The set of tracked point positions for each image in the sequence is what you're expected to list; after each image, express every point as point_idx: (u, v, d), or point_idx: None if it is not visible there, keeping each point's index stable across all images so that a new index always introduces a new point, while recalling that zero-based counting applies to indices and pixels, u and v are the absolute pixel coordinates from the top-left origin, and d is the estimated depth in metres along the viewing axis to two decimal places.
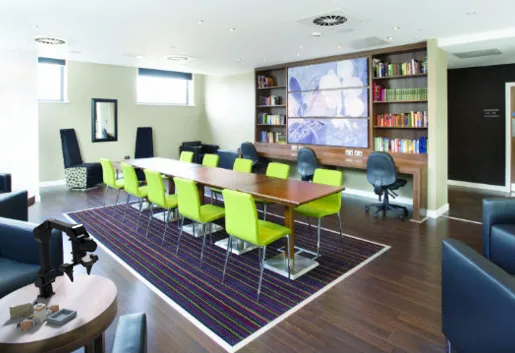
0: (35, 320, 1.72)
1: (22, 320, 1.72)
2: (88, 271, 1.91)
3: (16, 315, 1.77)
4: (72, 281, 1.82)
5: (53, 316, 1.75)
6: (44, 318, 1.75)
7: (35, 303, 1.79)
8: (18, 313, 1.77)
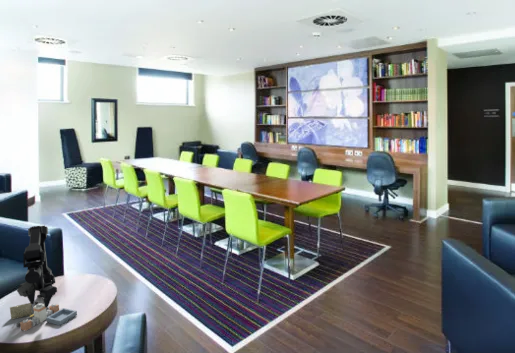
0: (35, 320, 1.72)
1: (22, 320, 1.72)
2: None
3: (17, 315, 1.77)
4: None
5: (53, 316, 1.75)
6: (44, 318, 1.75)
7: (36, 303, 1.79)
8: (18, 313, 1.77)
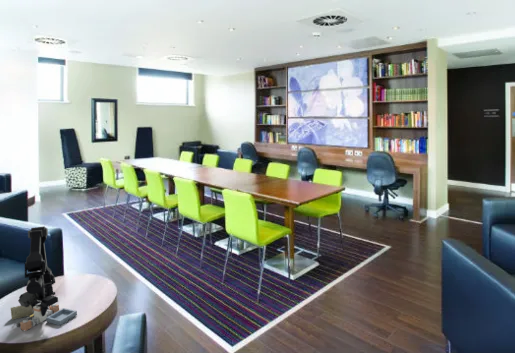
0: (35, 320, 1.72)
1: (22, 320, 1.72)
2: None
3: (17, 315, 1.77)
4: None
5: (53, 316, 1.75)
6: (44, 318, 1.75)
7: None
8: (19, 313, 1.77)
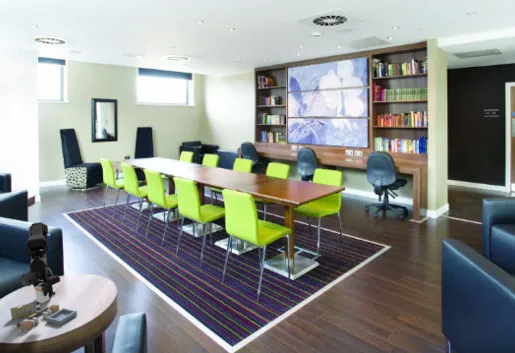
0: (35, 320, 1.72)
1: (22, 320, 1.72)
2: None
3: (18, 316, 1.76)
4: None
5: (53, 316, 1.75)
6: (46, 298, 1.73)
7: (37, 303, 1.79)
8: (19, 313, 1.76)
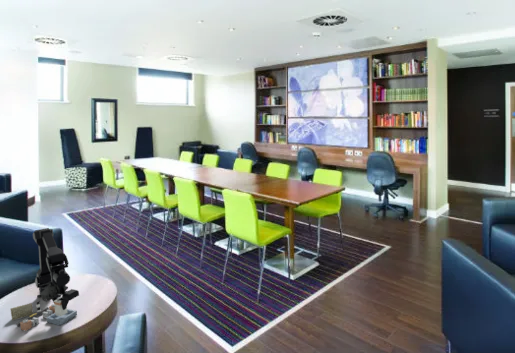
0: (35, 320, 1.72)
1: (22, 320, 1.72)
2: None
3: (18, 316, 1.76)
4: None
5: (53, 316, 1.75)
6: (65, 312, 1.75)
7: (37, 303, 1.79)
8: (19, 313, 1.76)
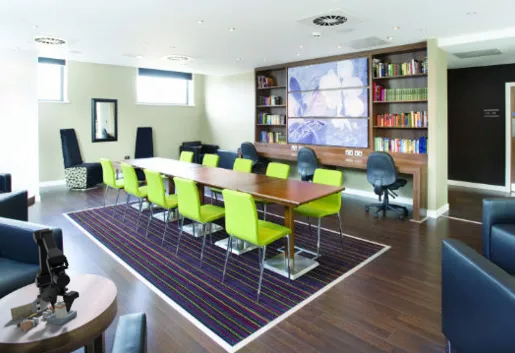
0: (35, 320, 1.72)
1: (22, 320, 1.72)
2: None
3: (18, 316, 1.76)
4: None
5: (53, 316, 1.75)
6: (65, 315, 1.76)
7: (37, 303, 1.80)
8: (20, 313, 1.76)
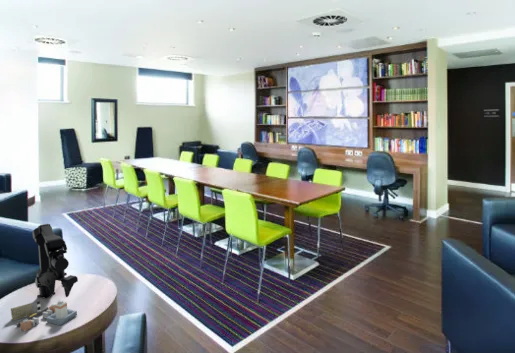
0: (35, 320, 1.72)
1: (22, 320, 1.72)
2: None
3: (18, 316, 1.76)
4: (51, 293, 1.75)
5: (53, 316, 1.75)
6: (65, 315, 1.76)
7: (37, 303, 1.80)
8: (20, 313, 1.76)
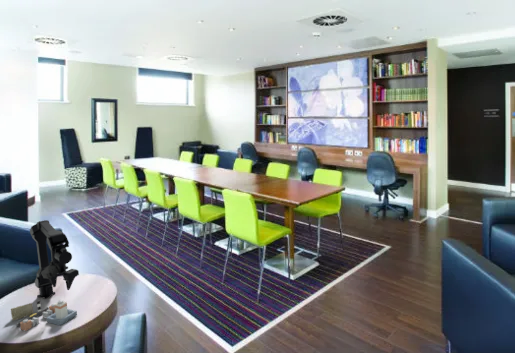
0: (35, 320, 1.72)
1: (22, 320, 1.72)
2: None
3: (18, 316, 1.76)
4: None
5: (53, 316, 1.75)
6: (65, 315, 1.76)
7: (37, 303, 1.80)
8: (20, 313, 1.76)
